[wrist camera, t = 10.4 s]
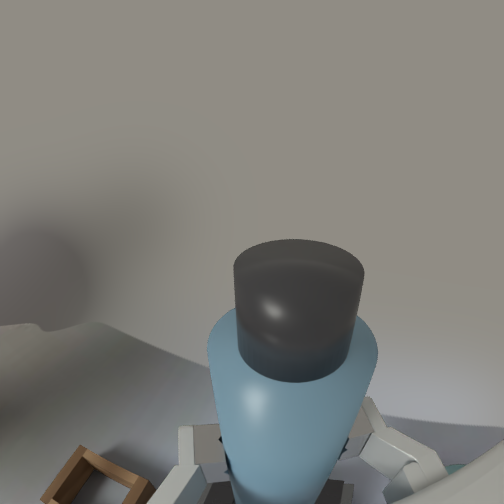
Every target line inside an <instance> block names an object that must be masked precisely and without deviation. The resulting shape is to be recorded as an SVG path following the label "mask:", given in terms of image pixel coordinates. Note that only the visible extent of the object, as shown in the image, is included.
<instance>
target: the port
mask: <svg viewBox="0 0 504 504" xmlns="http://www.w3.org/2000/svg"><path fill="white" fill-rule="evenodd" d="M229 477H230V476H229ZM353 489H354V484H344V481H339V480H329V479H327V481H326V483H325V485H324V487H323V489H322V491H321V492H320V494H319V496H318V498H317V500H316V501H315V503H314V504H351V502H352V496H353ZM196 504H236V503H235V498H234V494H233V490H232V485H231V481H224V482H213V483H207V486H206V488H205V489H204V491H203V493H202V495H201V496H200V498H199V500H198V502H197V503H196Z"/></svg>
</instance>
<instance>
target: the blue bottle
mask: <svg viewBox="0 0 504 504" xmlns="http://www.w3.org/2000/svg"><path fill="white" fill-rule="evenodd" d="M363 280H364V269H363V266H362V264H361V263H360V261H359V260H358V259H357V258H356V257H354V256H353V255H352V254H350V253H349V252H347V251H345V250H343V249H341V248H339V247H336V246H333V245H330V244H327V243H323V242H317V241H311V240H301V239H289V240H288V239H287V240H277V241H270V242H265V243H262V244H259V245H256V246H253V247H251V248H249V249H247V250H245V251H244V252H243V253H241V254H240V255H239V256H238V257H237V259H236V260H235V263H234V287H235V308H234V309H232V310H230V311H229V312H227V313H226V314H225V315H224V316H223V317H222V318H221V319H220V320H219V321H218V322H217V323H216V324H215V326H214V327H213V329H212V331H211V333H210V336H209V339H208V346H207V352H208V360H209V367H210V373H211V379H212V386H213V392H214V398H215V403H216V409H217V415H218V420H219V426H220V431H221V436H222V442H223V446H224V449H225V454H226V460H227V464H228V470H229V476H230V481H231V485H232V490H233V494H234V498H235V503H236V504H314V503H315V501H316V500H317V498H318V496H319V494H320V492H321V491H322V489H323V487H324V485H325V483H326V481H327V479H328V477H329V475H330V473H331V471H332V469H333V467H334V465H335V463H336V461H337V459H338V457H339V455H340V453H341V451H342V449H343V447H344V444H345V442H346V440H347V438H348V436H349V433H350V431H351V429H352V426H353V424H354V422H355V419H356V417H357V415H358V412H359V410H360V407H361V405H362V402H363V400H364V397H365V394H366V392H367V389H368V386H369V384H370V381H371V378H372V375H373V372H374V369H375V367H376V363H377V358H378V357H377V356H378V349H377V343H376V340H375V337H374V335H373V333H372V331H371V330H370V328H369V327H368V326H367V324H366V323H365V322H364V321H363V320H362V319H361V318H360V317H358V316H357V311H358V306H359V301H360V296H361V291H362V285H363Z"/></svg>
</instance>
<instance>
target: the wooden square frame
mask: <svg viewBox="0 0 504 504" xmlns="http://www.w3.org/2000/svg"><path fill="white" fill-rule="evenodd" d="M94 469H95V470H97V471H98V472H100V473H102V474H104V475H105V476H107V477H109V478H111V479H113V480H115V481H117V482H118V483H120V484H122V485H124V486H126V487H128V488H130V489H131V490H130V491H129V493H128V495H127V496H126V498H125V500H124V501H123V503H122V504H147V502H148V501H149V500H150V498H151V497H152V496H153V494H154V493H155V492H156V489H155V488H154V486H153V485H152V484H151V483H150V481H149V480H147V479H145V478H142V477H140V476H138V475H136V474H134V473H132V472H129V471H127V470H125V469H123V468H121V467H119V466H117V465H115V464H114V463H112V462H110V461H108V460H106V459H104V458H102V457H101V456H99V455H97V454H95V453H93V452H92V451H90V450H88V449H87V448H85V447H83V446H82V445H79V447H78V448H77V449H76V451H75V452H74V453H73V455H72V456H71V457H70V459H69V460H68V461H67V463H66V464H65V466H64V467H63V468H62V470H61V471H60V472H59V474H58V475H57V476H56V478H55V479H54V480H53V482H52V483H51V485H50V486H49V487H48V489H47V490H46V491H45V493H44V494H43V496H42V497H41V498H40V500H41V501H42V502H43V503H45V504H71V502H72V501H73V499H74V498H75V496H76V495H77V494H78V492H79V491H80V489H81V488H82V486H83V485H84V483H85V482H86V480H87V479H88V478H89V476H90V475H91V473H92V472H93V470H94Z"/></svg>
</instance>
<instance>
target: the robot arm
mask: <svg viewBox="0 0 504 504" xmlns="http://www.w3.org/2000/svg"><path fill="white" fill-rule="evenodd" d="M178 441H179V465H175V466H174V467H173V469H172V470H171V471H170V473H169V474H168V476H167V477H166V478H165V480H164V481H163V482H162V484H161V485H160V486H159V488H158V489H157V490H156V492H155V493H154V494H153V496H152V497H151V498H150V500H149V501H148V502H147V504H196V503H197V502H198V500H199V498H200V496H201V495H202V493H203V491H204V489H205V488H206V486H207V483H213V482H224V481H230V477H229V470H228V464H227V460H226V454H225V449H224V446H223V442H222V436H221V431H220V426H219V424H208V425H187V426H179V430H178ZM356 456H359V457H360V458H361V459H363V460H364V461H365V462H367V463H368V464H369V465H371V466H372V467H373V468H375V469H376V470H377V471H379V472H380V473H381V474H383V475H384V476H386V477H387V478H388V479H390V480H391V482H390V483H389V484H388V485H387V486H386V487H385V488H384V490H383V495H384V497H385V499H386V502H387V504H504V440H502V441H501V442H500V443H498V444H497V445H495V446H494V447H493V448H491V449H490V450H488V451H487V452H486V453H484V454H483V455H481V456H480V457H478V458H477V459H475V460H473V461H472V462H470V463H469V464H467V465H466V466H464V467H462V468H461V469H459V470H457V471H456V472H454V473H452V474H450V475H449V474H448V472H447V471H446V469H445V467H444V465H443V464H442V462H441V460H440V458H439V456H438V455H437V453H436V451H434V450H432V449H430V448H429V447H427V446H425V445H423V444H421V443H419V442H417V441H415V440H414V439H412V438H410V437H408V436H406V435H405V434H403V433H401V432H399V431H397V430H396V429H394V428H392V427H388V428H387V426H386V424H385V422H384V420H383V418H382V417H381V415H380V413H379V411H378V410H377V408H376V406H375V404H374V402H373V400H372V399H371V398H370V397H364V400H363V402H362V405H361V407H360V410H359V412H358V415H357V417H356V419H355V422H354V424H353V426H352V429H351V431H350V433H349V436H348V438H347V440H346V442H345V444H344V447H343V449H342V451H341V453H340V455H339V457H338V460H339V461H341V460H344V459H348V458H352V457H356Z"/></svg>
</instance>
